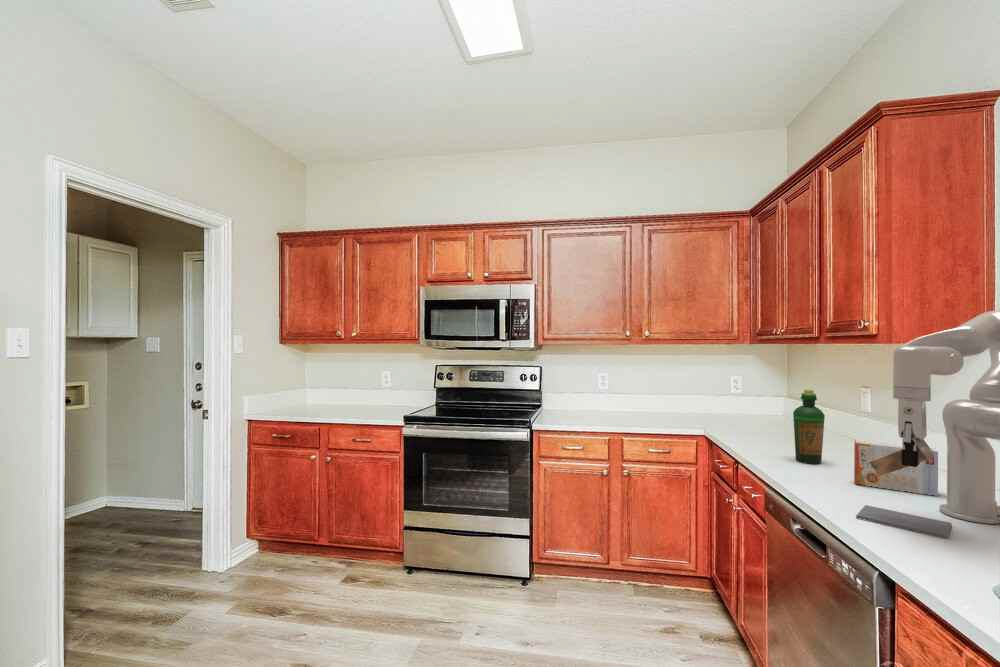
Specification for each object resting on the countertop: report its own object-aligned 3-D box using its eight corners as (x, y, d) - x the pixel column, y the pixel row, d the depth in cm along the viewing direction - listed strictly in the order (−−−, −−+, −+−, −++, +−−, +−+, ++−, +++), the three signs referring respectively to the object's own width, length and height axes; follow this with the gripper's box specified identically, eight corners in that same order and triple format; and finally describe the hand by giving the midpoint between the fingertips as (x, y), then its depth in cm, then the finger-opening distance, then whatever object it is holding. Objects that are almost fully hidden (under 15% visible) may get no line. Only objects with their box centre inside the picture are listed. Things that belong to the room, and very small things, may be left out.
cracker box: (853, 480, 166) (935, 492, 154) (854, 484, 161) (938, 497, 149) (854, 439, 166) (936, 448, 154) (855, 442, 161) (939, 451, 149)
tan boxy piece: (877, 478, 129) (862, 456, 131) (882, 472, 134) (868, 452, 137) (931, 459, 121) (914, 437, 124) (935, 454, 127) (918, 433, 129)
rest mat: (951, 526, 126) (951, 522, 126) (947, 538, 117) (947, 535, 118) (865, 507, 139) (865, 505, 139) (856, 518, 130) (856, 515, 130)
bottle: (809, 466, 184) (810, 392, 184) (785, 459, 194) (786, 389, 195) (831, 464, 187) (831, 391, 187) (806, 457, 197) (807, 388, 198)
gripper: (926, 397, 119) (925, 473, 119) (933, 393, 130) (933, 462, 130) (887, 394, 124) (887, 467, 124) (897, 390, 136) (897, 457, 135)
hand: (910, 463), depth 127 cm, fingers closed on tan boxy piece, 3 cm apart
